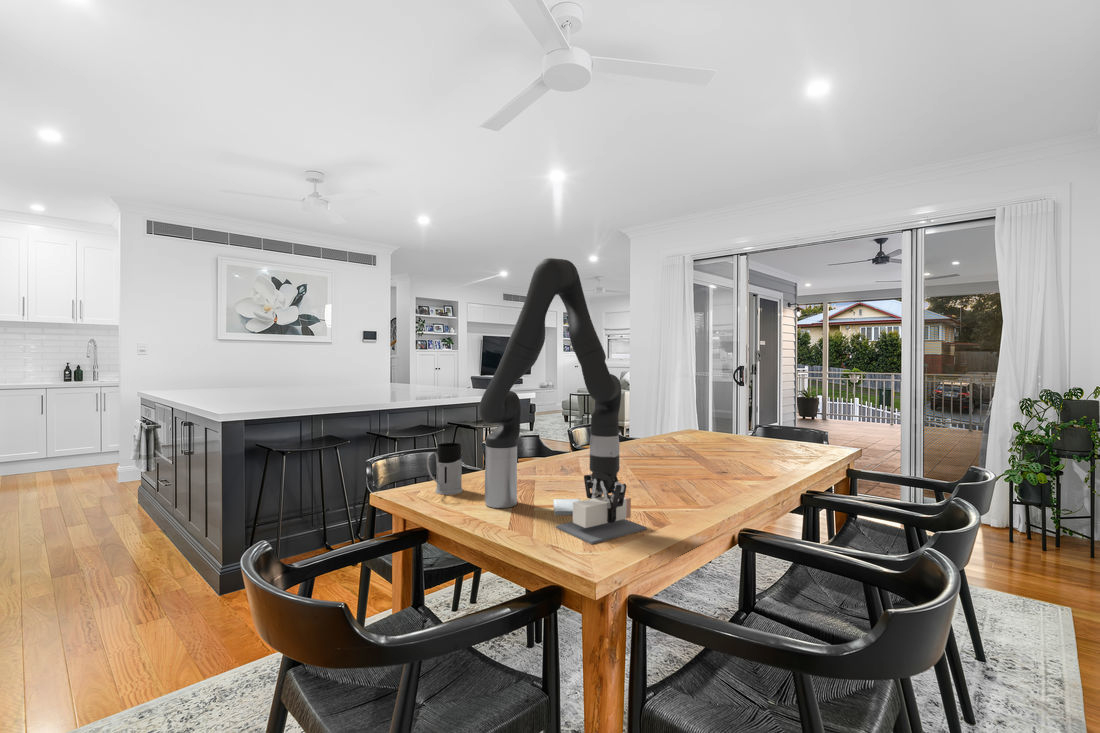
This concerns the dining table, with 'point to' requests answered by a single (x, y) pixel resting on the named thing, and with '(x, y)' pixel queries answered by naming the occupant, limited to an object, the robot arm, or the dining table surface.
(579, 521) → the capped block
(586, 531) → the rubber mat
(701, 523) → the dining table surface
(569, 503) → the hard drive
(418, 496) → the dining table surface
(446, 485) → the grey coffee pot
